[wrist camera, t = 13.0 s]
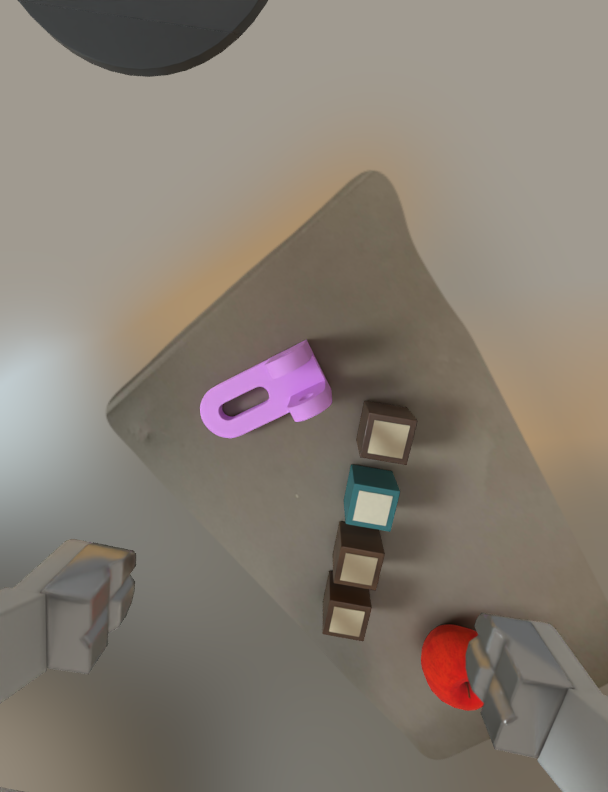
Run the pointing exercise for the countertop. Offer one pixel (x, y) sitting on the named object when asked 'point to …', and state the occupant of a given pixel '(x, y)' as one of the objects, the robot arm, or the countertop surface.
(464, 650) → the apple
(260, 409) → the bracket
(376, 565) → the block
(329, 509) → the countertop surface
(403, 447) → the block
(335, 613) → the block
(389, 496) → the letter block
